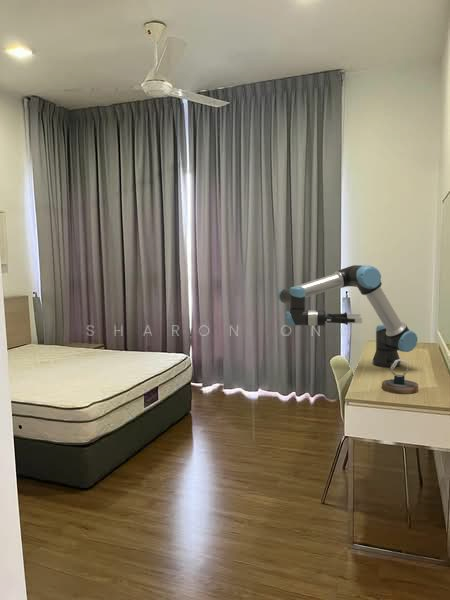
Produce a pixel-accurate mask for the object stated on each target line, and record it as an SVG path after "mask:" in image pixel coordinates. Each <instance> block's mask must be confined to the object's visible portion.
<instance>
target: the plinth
mask: <svg viewBox="0 0 450 600" xmlns="http://www.w3.org/2000/svg"><path fill="white" fill-rule="evenodd" d="M381 389H382V390H383V391H384V392H387V393H391V394H397V395H412V394H416V393H418V392H419V384H418V382H416V381H415V382H414V381H413V380H412V381H411V380H407V379H405V381H404V385H400V384H394V378H393V379H386V380H385V379H384V380H383V381H382V382H381Z"/></svg>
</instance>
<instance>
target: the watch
mask: <svg viewBox="0 0 450 600" xmlns="http://www.w3.org/2000/svg"><path fill="white" fill-rule="evenodd" d="M398 361H401V363H402V362H403V363H404V364H405V365H406V369H405V371H404V372H403V373H402V374H396V373H395V372H394V371H393V370H394V369H395V368H396V365H397V363H398ZM389 368H390V372H391V374H392V375H393V379H394V384H400V385H404V381H405V380H406V378H405V376H406V375H407V373H408V371H409V364H408V363H407V361H406V360H404V359H401V358H400V359H398V360H395V361H394V363H393V364H392V366H391V367H389Z"/></svg>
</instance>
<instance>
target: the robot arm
mask: <svg viewBox="0 0 450 600" xmlns="http://www.w3.org/2000/svg"><path fill="white" fill-rule="evenodd" d="M381 278H382V274H381V272H380V271H379V269H377V267H375V266H374V265H373V266H372V265H369V264H368V265H367V264H366V265H365V264H364V265H363V264H362V265H361V264H359V265H357V264H354V265H349V266H347V267H344V268H342V269H339V270H336V271H334V273H332V274H330V275H326V276H324V277H319V278H316V279H314V280H311V281H307V282H305V283H302V284H298V285H295V286H292V287H288V288H281V289H280V290H279V291H278V293H277V299H278V300H279V302H281V303H283V304H287V305H288V304H289V310H286V311H285V324H286V325H288V326H296V327H297V326H310V327H313V326H320V327H322V326H323V327H324V326H326V323H330V324H331V323H333V324H344V325H346V326H347V325H349V324H363V317H361V313H348V312H343V313H326V310H311V309H310V310H306V298H310V297H312V296H316V295H318V294H321V293H324V292H328V291H330V290H334V289H337V288H339V289H343V288H346V287H354V288H357V289H358V291H359V292H360V294H361V295H363V296H366V298H367V300H368V302H369V303H370V305H371V307H372V308H373V310H374V311H375V314H377V316H378V318H379V320H380V321H381V323H382V324H379V325H376V328H375V345H376V346H375V352H374V356H373V358H372V365H374V366H377V367H382V368H391V366H392V364H393V363H394V361H395V360H398V359H401V358H400V356H399V355H400V354H399V353H398V351H399V352H404V353H410V352H412V351H413V350H414V349H415V348H416V346H417V343H418V335H417V333H415V332H414V331H413V330H410V329H409V326H407V324H406V323H405V322H402V321H401V319H400V318H399V316H398V315H397V314H398V313H397V312H396V310H395V309H394V307H393V306H392V304H391V303H390V301H389V298H387V296H386V294H385V292H384V291H383V289H382V284H383V283H382V280H381ZM401 363H402V361H398V363H397V365H396V367H400V366H401ZM396 367H395V368H396Z"/></svg>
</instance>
